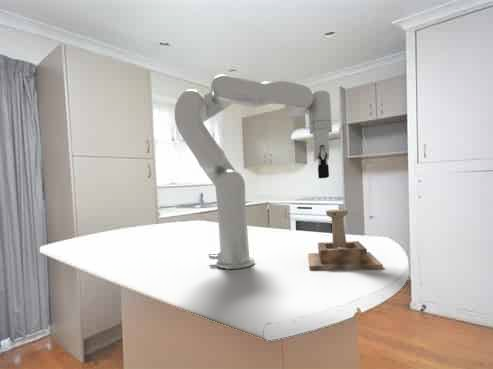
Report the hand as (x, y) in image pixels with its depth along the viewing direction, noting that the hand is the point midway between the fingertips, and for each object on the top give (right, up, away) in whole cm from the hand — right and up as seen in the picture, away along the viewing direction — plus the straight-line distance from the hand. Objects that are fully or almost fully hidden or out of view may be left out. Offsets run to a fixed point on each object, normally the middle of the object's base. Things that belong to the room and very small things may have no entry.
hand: (323, 177), depth 99 cm
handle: (+3, -26, -9) cm, 27 cm away
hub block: (+3, -27, -9) cm, 28 cm away
